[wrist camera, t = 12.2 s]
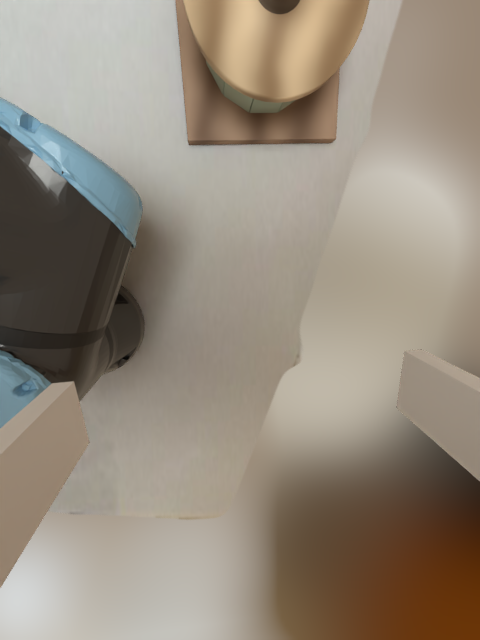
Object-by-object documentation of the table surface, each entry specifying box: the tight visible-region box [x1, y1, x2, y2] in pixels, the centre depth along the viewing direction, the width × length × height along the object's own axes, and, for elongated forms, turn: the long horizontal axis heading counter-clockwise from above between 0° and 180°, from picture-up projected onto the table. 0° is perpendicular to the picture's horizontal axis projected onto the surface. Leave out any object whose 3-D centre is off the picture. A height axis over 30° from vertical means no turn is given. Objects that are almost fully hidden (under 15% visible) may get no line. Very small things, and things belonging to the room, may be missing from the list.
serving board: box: [176, 0, 339, 145], centre depth 32 cm, size 20×20×2 cm
